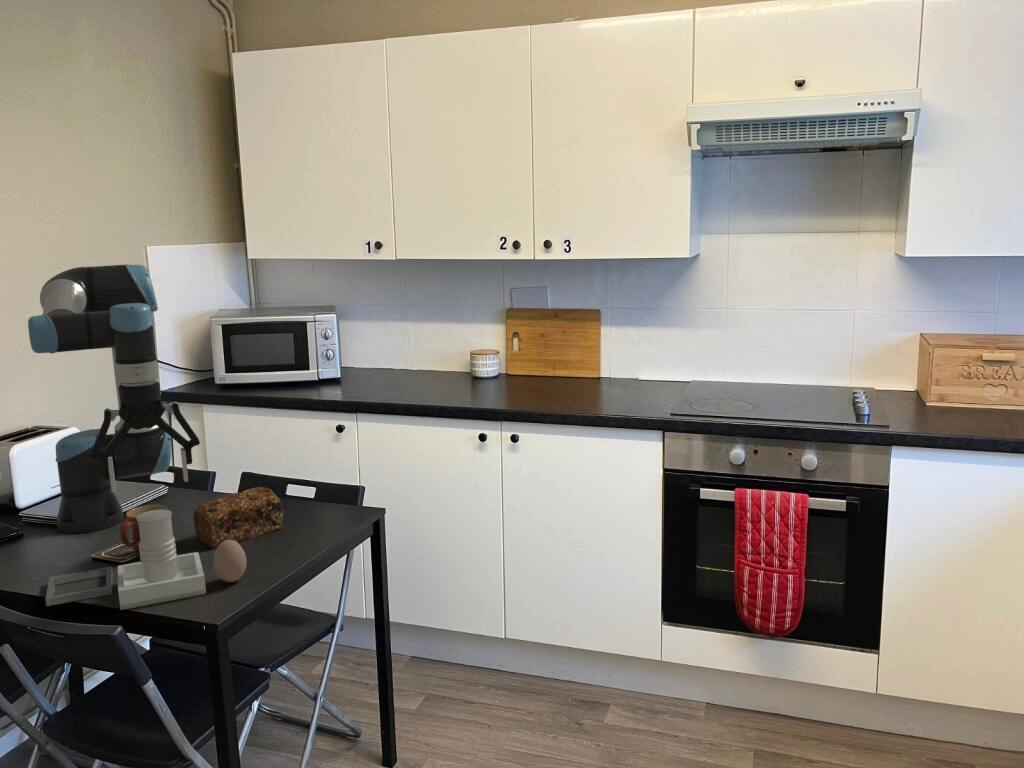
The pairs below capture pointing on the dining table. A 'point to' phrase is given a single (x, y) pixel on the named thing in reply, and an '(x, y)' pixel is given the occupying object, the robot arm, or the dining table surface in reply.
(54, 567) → the dining table surface
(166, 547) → the grey tall round piece
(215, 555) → the egg
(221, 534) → the bread
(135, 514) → the mug
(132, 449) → the robot arm
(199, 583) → the bin
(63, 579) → the grey square frame
